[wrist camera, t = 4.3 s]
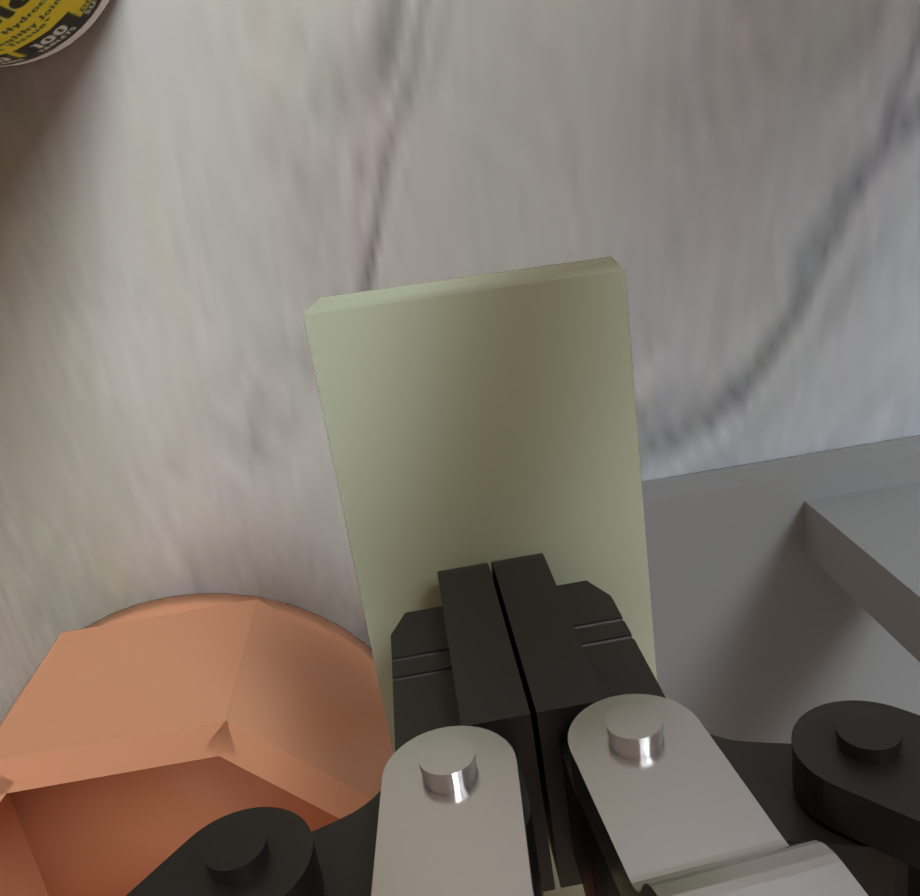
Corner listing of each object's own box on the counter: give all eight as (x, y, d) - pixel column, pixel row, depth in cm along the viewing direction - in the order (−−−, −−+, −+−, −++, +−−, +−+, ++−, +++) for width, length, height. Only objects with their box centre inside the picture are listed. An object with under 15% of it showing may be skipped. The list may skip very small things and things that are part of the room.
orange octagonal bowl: (-61, 635, 23) (-204, 795, 17) (393, 558, 23) (399, 689, 18) (71, 972, 27) (-9, 1191, 21) (458, 900, 27) (479, 1096, 22)
